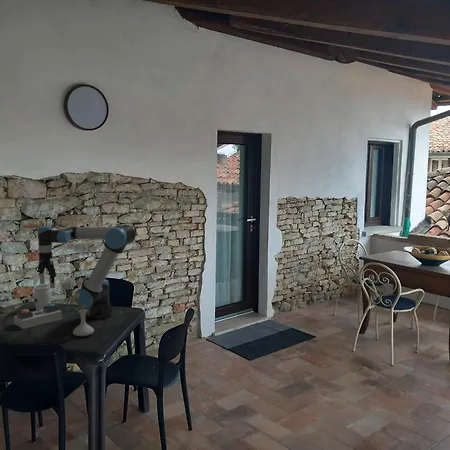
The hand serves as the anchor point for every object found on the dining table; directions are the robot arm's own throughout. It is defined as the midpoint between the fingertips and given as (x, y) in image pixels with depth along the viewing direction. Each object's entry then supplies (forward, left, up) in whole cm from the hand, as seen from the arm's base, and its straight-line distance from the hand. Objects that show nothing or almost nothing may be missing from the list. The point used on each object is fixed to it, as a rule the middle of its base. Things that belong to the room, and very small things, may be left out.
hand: (47, 286), depth 288 cm
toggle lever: (0, +7, -15) cm, 16 cm away
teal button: (0, -1, -14) cm, 14 cm away
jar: (+23, -7, -21) cm, 32 cm away
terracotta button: (0, +15, -14) cm, 20 cm away
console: (0, +7, -21) cm, 22 cm away
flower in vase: (-39, 0, -21) cm, 45 cm away
